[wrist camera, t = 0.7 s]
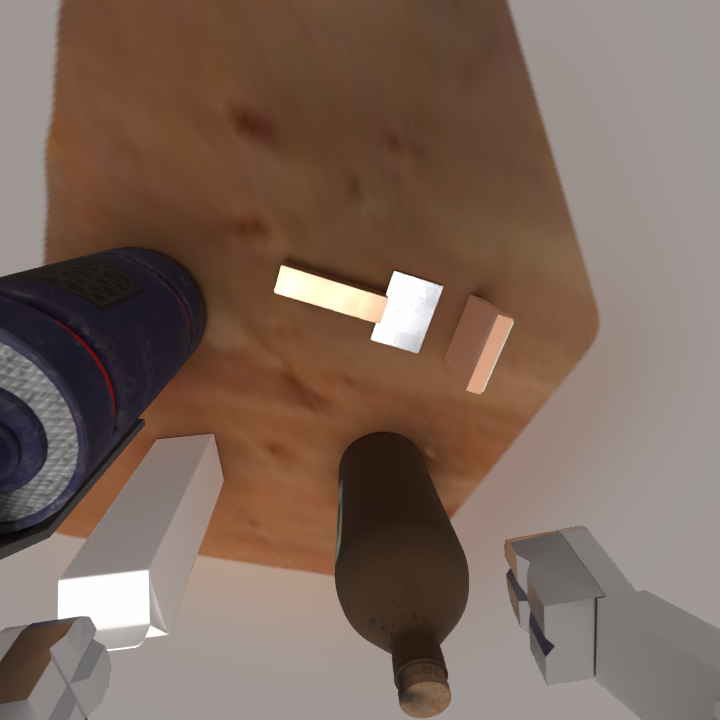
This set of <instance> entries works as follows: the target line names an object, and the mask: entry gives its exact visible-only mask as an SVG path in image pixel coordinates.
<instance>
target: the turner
mask: <svg viewBox="0 0 720 720" xmlns="http://www.w3.org/2000/svg"><path fill="white" fill-rule="evenodd" d="M442 289H443V286H442V285H439V284H436V283H433V282H430V281H427V280H423V279H420V278H417V277H414V276H411V275H408V274H405V273H402V272H398V271H395V270H393V272H392V275H391V278H390V281H389V284H388V286H387V289H386V292H383V291H380V290H377V289H373V288H370V287H367V286H364V285H361V284H357V283H354V282H351V281H348V280H345V279H341V278H338V277H335V276H332V275H328V274H325V273H322V272H319V271H316V270H312V269H309V268H306V267H303V266H300V265H296V264H293V263H290V262H287V261H284V262H283V263H282V265H281V268H280V272H279V276H278V279H277V283H276V287H275V291H274V293H277V294H281V295H284V296H288V297H291V298H294V299H298V300H301V301H304V302H308V303H311V304H314V305H318V306H321V307H324V308H328V309H331V310H334V311H338V312H341V313H344V314H348V315H351V316H354V317H358V318H361V319H364V320H368V321H371V322H375V324H374V327H373V330H372V333H371V336H370V339H371V340H374V341H377V342H381V343H384V344H388V345H391V346H394V347H398V348H401V349H405V350H408V351H412V352H415V353H418V352H419V350H420V347H421V344H422V342H423V339H424V336H425V334H426V331H427V329H428V326H429V323H430V321H431V318H432V315H433V313H434V310H435V308H436V305H437V302H438V300H439V297H440V294H441V292H442Z"/></svg>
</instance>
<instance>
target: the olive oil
mask: <svg viewBox="0 0 720 720" xmlns="http://www.w3.org/2000/svg"><path fill="white" fill-rule="evenodd" d="M335 584H336V590H337V595H338V598H339V601H340V604H341V606H342V609H343V611H344V613H345V616H346V618H347V619H348V621H349V623H350V624H351V625H352V627H353V628H354V629H355V630H356V631H357V632H358V633H359V634H360V635H361V636H362V637H363V638H365V639H366V640H367V641H369V642H371V643H372V644H374V645H376V646H378V647H379V648H381V649H383V650H385V651H387V652H389V653H390V654H392V662H393V672H394V682H395V686H396V687H397V689H398V696H399V703H400V707H401V709H402V710H403V711H404V712H405V713H406V714H408V715H409V716H412V717H416V718H427V717H432V716H435V715H437V714H440V713H441V712H443V711H444V710H445V709H446V708H447V707H448V706H449V704H450V701H451V692H450V688H449V684H448V682H447V679H448V671H447V669H446V665H445V661H444V657H443V654H442V651H441V648H440V644H441V643H442V642H443V641H444V639H445V638H446V637H447V636H448V635H449V633H450V632H451V631H452V630H453V629H454V627H455V626H456V625H457V623H458V621H459V620H460V618H461V616H462V614H463V612H464V610H465V607H466V603H467V600H468V593H469V573H468V565H467V560H466V557H465V554H464V551H463V549H462V546H461V544H460V542H459V540H458V538H457V536H456V533H455V531H454V529H453V527H452V525H451V523H450V520H449V518H448V516H447V514H446V512H445V509H444V507H443V505H442V503H441V500H440V498H439V496H438V494H437V492H436V489H435V487H434V485H433V483H432V480H431V478H430V475H429V473H428V470H427V468H426V466H425V463H424V461H423V458H422V456H421V454H420V452H419V450H418V449H417V448H416V446H415V445H414V444H413V443H412V442H410V441H409V440H408V439H406V438H404V437H402V436H400V435H397V434H393V433H374V434H370V435H367V436H364V437H362V438H360V439H359V440H357V441H355V442H354V443H353V444H352V445H351V446H350V447H349V448H348V449H347V450H346V452H345V453H344V455H343V457H342V459H341V462H340V466H339V490H338V519H337V541H336V558H335Z"/></svg>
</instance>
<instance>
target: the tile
mask: <svg viewBox="0 0 720 720" xmlns="http://www.w3.org/2000/svg"><path fill="white" fill-rule="evenodd" d="M513 320H514V319H512V318H511V317H509V316H508V315H506V314H505V313H503V312H502V311H501V310H499V309H498V308H496V307H495V306H493V305H492V304H490V303H489V302H487V301H486V300H484V299H483V298H480V297H476V296H473V295H470V296H469V298H468V301H467V303H466V306H465V308H464V311H463V313H462V316H461V318H460V321H459V323H458V326H457V328H456V331H455V333H454V336H453V338H452V341H451V343H450V346H449V348H448V351H447V353H446V356H445V358H444V360H445V361H446V363H447V364H448V365H449V367H450V368H451V370H452V371H453V373H454V374H455V375H456V377H457V378H458V380H459V381H460V383H461V384H462V385H463V387H464V388H465V390H466V391H470V392H473V393H477V394H481V393H482V392H483V391H484V389H485V387H486V384H487V382H488V380H489V377H490V375H491V373H492V371H493V368H494V366H495V364H496V362H497V359H498V357H499V355H500V352H501V350H502V348H503V346H504V343H505V341H506V339H507V337H508V334H509V332H510V330H511V327H512V325H513V323H514V321H513Z"/></svg>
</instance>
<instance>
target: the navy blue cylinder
mask: <svg viewBox="0 0 720 720" xmlns="http://www.w3.org/2000/svg"><path fill="white" fill-rule="evenodd" d="M204 328H205V310H204V306H203V302H202V298H201V295H200V293H199V291H198V289H197V287H196V285H195V284H194V282H193V281H192V280H191V278H190V277H189V276H188V275H187V273H186V272H185V271H184V270H183V269H181V268H180V267H179V266H178V265H177V264H175V263H174V262H173V261H171V260H170V259H168V258H166V257H164V256H162V255H161V254H159V253H156V252H152V251H149V250H146V249H141V248H129V247H126V248H118V249H111V250H107V251H103V252H100V253H96V254H92V255H88V256H82V257H78V258H74V259H70V260H66V261H62V262H58V263H54V264H50V265H46V266H42V267H38V268H34V269H31V270H27V271H23V272H19V273H15V274H11V275H7V276H3V277H0V560H1V559H3V558H5V557H8V556H10V555H12V554H14V553H16V552H19V551H20V550H23V549H25V548H27V547H30V546H32V545H34V544H36V543H38V542H40V541H43V540H45V539H47V538H49V537H50V536H51V535H52V534H53V533H54V532H55V530H56V529H57V528H58V527H59V526H60V525H61V523H62V522H63V521H64V520H65V519H66V517H67V516H68V515H69V514H70V513H71V512H72V510H73V509H74V508H75V507H76V506H77V504H78V503H79V502H80V501H81V500H82V499H83V497H84V496H85V495H86V494H87V493H88V491H89V490H90V489H91V488H92V487H93V486H94V484H95V483H96V482H97V481H98V480H99V478H100V477H101V476H102V475H103V474H104V472H105V471H106V470H107V469H108V468H109V467H110V465H111V464H112V463H113V462H114V461H115V459H116V458H117V457H118V456H119V455H120V454H121V452H122V451H123V450H124V449H125V448H126V446H127V445H128V444H129V443H130V442H131V441H132V439H133V438H134V437H135V436H136V435H137V433H138V432H139V431H140V430H141V429H142V428H143V426H144V425H145V421H144V419H138V418H139V417H140V415H141V414H142V413H143V412H144V411H145V409H146V408H147V407H148V406H149V405H150V404H151V402H152V401H153V400H154V399H155V398H156V397H157V395H158V394H159V393H160V392H161V391H162V389H163V388H164V387H165V386H166V385H167V384H168V382H169V381H170V380H171V379H172V378H173V376H174V375H175V374H176V373H177V372H178V371H179V369H180V368H181V367H182V365H183V364H184V363H185V362H186V361H187V360H188V358H189V357H190V356H191V355H192V354H193V353H194V351H195V350H196V349H197V347H198V345H199V343H200V341H201V339H202V336H203V332H204Z"/></svg>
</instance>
